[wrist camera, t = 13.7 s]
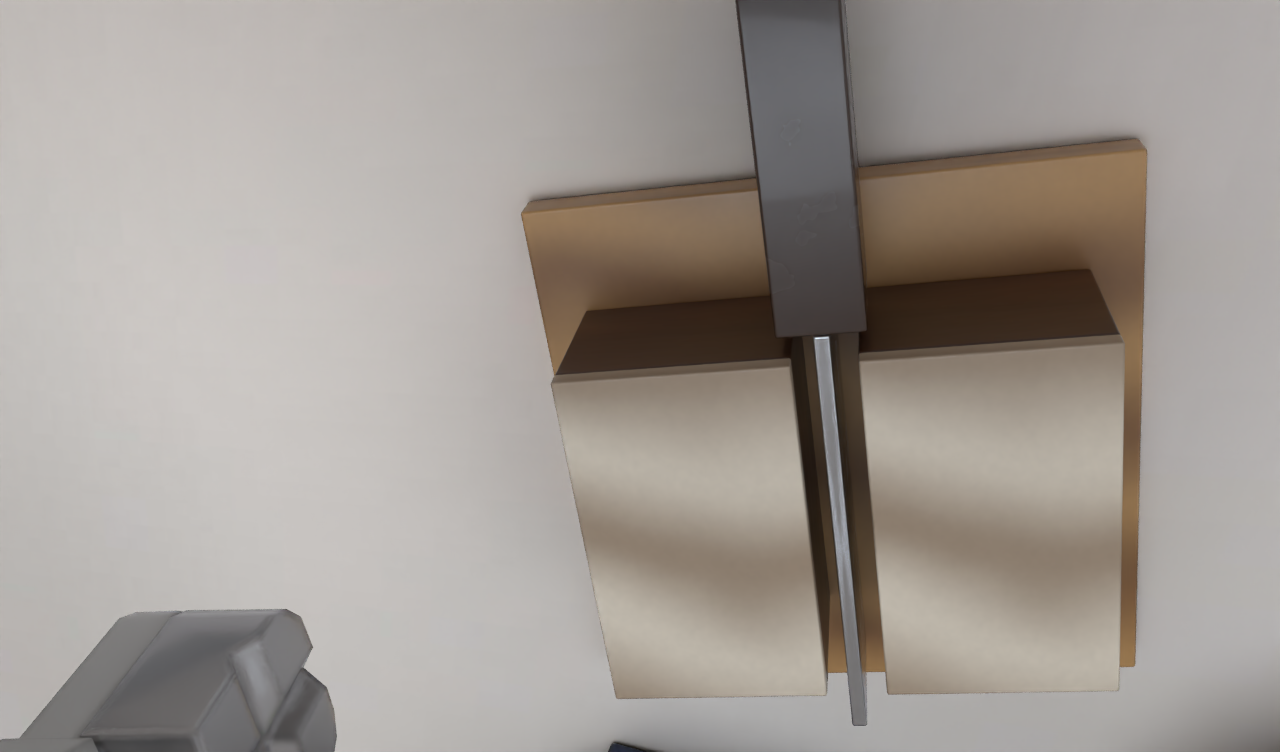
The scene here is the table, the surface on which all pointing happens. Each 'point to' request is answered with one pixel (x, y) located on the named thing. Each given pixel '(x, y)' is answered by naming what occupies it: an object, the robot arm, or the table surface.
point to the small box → (622, 748)
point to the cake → (860, 429)
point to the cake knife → (813, 236)
